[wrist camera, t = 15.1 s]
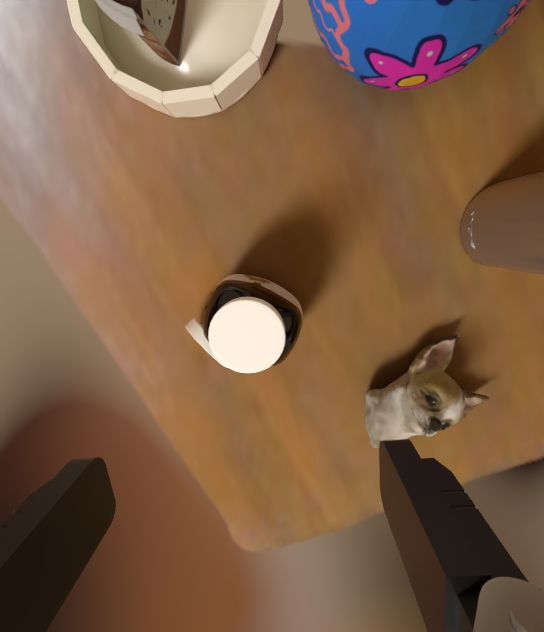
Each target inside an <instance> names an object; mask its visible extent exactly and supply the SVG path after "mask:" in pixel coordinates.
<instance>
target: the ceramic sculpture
mask: <svg viewBox="0 0 544 632" xmlns="http://www.w3.org/2000/svg"><path fill="white" fill-rule="evenodd" d="M458 339H459V335H456V336H451V337H447V338H442V339H439V340H436V341H435V342H433V343H430V344H428V345H427V346H425V347H424V348H423V349H422V350H421V351H420V352H419V353H418V354H417V356H416V357H415V359H414V360H413V362H412V364H411V365H410V367H409V369H408V372H407V373H405V374H404V375H402V376H401V377H399V378H398V379H397V380H396V381H394V382H392V383H391V384H389V385H388V386H387V387H385V388H383V389H372V390H368V391H367V392H366V394H365V396H366V414H365V424H366V427H367V431H368V434H369V437H370V441H371V444H372V446H373V447H374V448H378V447H379V444H380V441H384V440H400V439H408V438H409V437H411V436H414V435H425V436H433V435H435V434H436V433H437V432H438V431H441V430H445V429H447V428H449V427H450V426H451V425H454V424H456V423H457V422H458V421H461V420H462V419H463V418H464V417H465V416H466V414H468V413H469V412H470V411H471V410H472V409H473V407H474V406H476V405H478V404H479V403H483V402H485V401H487V400H488V399H489V397H488V396H485V395H480V394H476V393H473V392H471V391H468V390H464V389H460V387H459V386H458V384H457V383H456V382H455V381H454V379H453V378H451V377H450V376H449V375H448V374H446V373H445V371H444V370H445V369H446V368H447V367H448V365H449V364H450V362H451V360H452V357H453V350H454V347H455V344H456V342H457V340H458Z"/></svg>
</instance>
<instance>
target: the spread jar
mask: <svg viewBox="0 0 544 632" xmlns="http://www.w3.org/2000/svg"><path fill="white" fill-rule="evenodd" d="M302 322H303V313H302V308H301V305H300V303H299V301H298V300H297V299H296V298H295V297H294V296H293V295H292V294H291V293H290V292H288V291H287V290H285V289H284V288H282V287H281V286H279V285H277V284H275V283H273V282H271V281H269V280H267V279H264V278H260V277H256V276H252V275H245V274H233V275H230V276H228V277H226V278H224V279H223V280H222V281H221V282H219V284H218V285H217V286H216V287H215V289H214V290H213V292H212V294H211V295H210V298H209V300H208V302H207V305H206V307H205V311H204V316H203V323H202V324H201V323H200V322H199V321H198V320H197V319H195V318H193V319H192V320H191V321H190V322H189V323H188V324H187V325H186V326H185V327H186V329H187V330H188V332H189V333H190V334H191V335H192V336H193V338H194V339H195V340H196V341H197V342H198V343H199V344H200V345H201V346H202V347H203V348H204V349H205V350H206V351H207V352H208V353H209V354H210V355H211V356H212V357H213V358H214V359H215V360H217V361H218V362H219V363H220V364H221V365H223V366H224V367H226V368H227V367H228V368H230V369H232V370H234V371H237V372H241V373H255V372H259V371H263V370H265V369H267V368H269V367H270V366H274V365H277V364H280V363H281V362H282V361H283V360H285V359H286V357H287V356H288V355H289V354H290V352H291V351H292V349H293V348H294V346H295V344H296V342H297V339H298V337H299V334H300V331H301V327H302Z"/></svg>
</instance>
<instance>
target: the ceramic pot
mask: <svg viewBox="0 0 544 632" xmlns="http://www.w3.org/2000/svg"><path fill="white" fill-rule="evenodd" d="M530 1H531V0H308V2H309V5H310V9H311V13H312V17H313V21H314V24H315V26H316V28H317V31H318V33H319V36H320V38H321V41H322V42H323V44H324V45H325V47H326V48H327V50H328V51H329V53H330V54H331V56H332V57H333V59H334V60H335V61H336V63H337V64H338V65H340V66H341V67H342V68H344V69H345V70H346V71H348V72H349V73H350V74H352V75H353V76H354V77H355V78H357V79H358V80H359V81H361V82H362V83H365V84H369V85H373V86H377V87H380V88H384V89H388V90H403V89H415V88H420V87H423V86H425V85H428V84H430V83H433V82H435V81H438V80H440V79H443V78H445V77H448V76H450V75H452V74H454V73H456V72H458V71H460V70H461V69H463V68H464V67H465V66H466V65H468V64H469V63H470V62H471V61H472V60H473V59H475V58H476V57H477V56H478V55H479V54H481V53H482V52H483V51H484V50H485V49H486V48H488V47H489V46H490V45H491V44H492V43H494V42H495V41H496V40H497V39H498V38H499V37H501V36H502V35H503V34H504V33H505V32H506V31H507V30H508V29H509V28H510V26H511V25H512V24H513V23H514V21H515V20H516V19H517V18H518V16H519V15H520V14H521V12H522V11H523V10H524V9H525V7H526V6H527V5H528V3H529V2H530Z"/></svg>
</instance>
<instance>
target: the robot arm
mask: <svg viewBox="0 0 544 632" xmlns="http://www.w3.org/2000/svg"><path fill="white" fill-rule="evenodd" d="M460 232H461V240H462V243H463V246H464V248H465V250H466V252H467V253H468V254H469V255H470V256H471V257H472V258H473V259H474V260H476V261H477V262H479V263H481V264H484V265H487V266H492V267H499V268H505V269H510V270H516V271H523V272H529V273H535V274H542V275H544V171H543V172H539V173H535V174H531V175H526V176H522V177H518V178H514V179H509V180H505V181H501V182H498V183H495V184H492V185H491V186H489V187H487V188H485V189H484V190H482V191H481V192H480V193H479V194H477V195H476V196H475V197H474V199H473V200H472V201H471V202H470V203H469V205H468V207H467V209H466V210H465V212H464V215H463V218H462V221H461V228H460ZM379 460H380V491H381V498H382V503H383V507H384V511H385V514H386V516H387V519H388V522H389V525H390V528H391V531H392V533H393V536H394V539H395V542H396V545H397V548H398V550H399V553H400V556H401V559H402V561H403V564H404V567H405V570H406V573H407V576H408V578H409V581H410V584H411V587H412V589H413V592H414V595H415V598H416V601H417V604H418V606H419V609H420V612H421V615H422V618H423V620H424V623H425V626H426V629H427V632H544V590H543V589H541V588H539V587H538V586H535V585H534V584H531V583H529V581H528V580H527V579H526V578H525V576H524V575H523V574H522V572H521V571H520V569H519V568H518V566H517V565H516V564H515V562H514V561H513V559H512V558H511V557H510V555H509V554H508V552H507V551H506V549H505V548H504V546H503V545H502V544H501V542H500V541H499V539H498V538H497V536H496V535H495V533H494V532H493V531H492V529H491V528H490V526H489V525H488V523H487V522H486V521H485V519H484V518H483V516H482V515H481V513H480V512H479V510H478V509H476V508H475V505H474V503H473V502H472V500H471V499H470V498H469V496H468V495H467V493H465V492H464V489H463V488H462V486H461V485H460V483H459V482H458V480H457V479H456V477H455V476H454V475H453V473H452V472H451V471H450V470H448V469H447V468H446V467H445V466H443V465H442V464H441V463H439V462H438V461H437V460H435V459H434V458H425V459H421V458H420V456H419V454H418V453H417V451H416V449H415V448H414V446H413V444H412V443H411V441H410V440H409V439H400V440H384V441H380V444H379ZM115 507H116V503H115V497H114V493H113V490H112V486H111V483H110V479H109V475H108V472H107V468H106V464H105V462H104V460H103V459H102V458H99V457H98V458H82V459H73V460H71V461H69V462H68V463H67V464H66V466H64V467H63V469H61V471H60V472H59V473H58V474H57V475H56V476H55V477H54V478H53V479H51V480H50V481H48V482H47V483H46V484H44V485H43V486H41V487H40V488H39V489H37V490H36V491H34V492H33V493H31V494H30V495H29V496H28V497H27V498H26V499H25V500H24V501H23V502H22V503H21V504H20V505H19V506H18V507H17V508H16V509H15V510H14V511H13V515H10V516H9V517H8V518H7V519H6V520H5V521H4V522H3V523H2V524H1V525H0V632H46V631H47V630H48V628H49V626H50V625H51V623H52V621H53V620H54V618H55V616H56V615H57V613H58V611H59V610H60V608H61V606H62V605H63V603H64V601H65V600H66V598H67V596H68V595H69V593H70V591H71V590H72V588H73V586H74V585H75V583H76V581H77V580H78V578H79V576H80V575H81V573H82V572H83V570H84V568H85V566H86V565H87V563H88V562H89V559H90V558H91V557H92V555H93V553H94V552H95V550H96V548H97V546H98V545H99V543H100V542H101V540H102V538H103V536H104V535H105V533H106V532H107V530H108V528H109V527H110V525H111V523H112V521H113V518H114V514H115Z"/></svg>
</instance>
